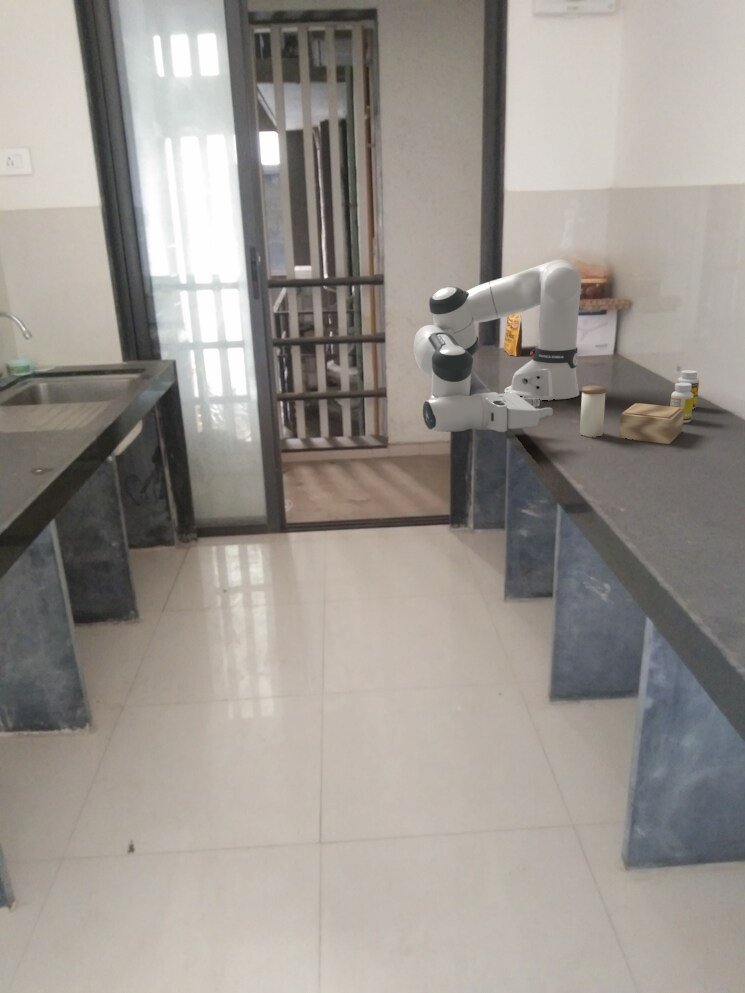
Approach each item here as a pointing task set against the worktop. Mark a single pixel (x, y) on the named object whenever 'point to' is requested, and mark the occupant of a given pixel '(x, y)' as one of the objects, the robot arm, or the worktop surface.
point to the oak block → (651, 423)
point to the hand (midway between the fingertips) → (545, 406)
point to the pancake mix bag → (513, 335)
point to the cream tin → (592, 410)
